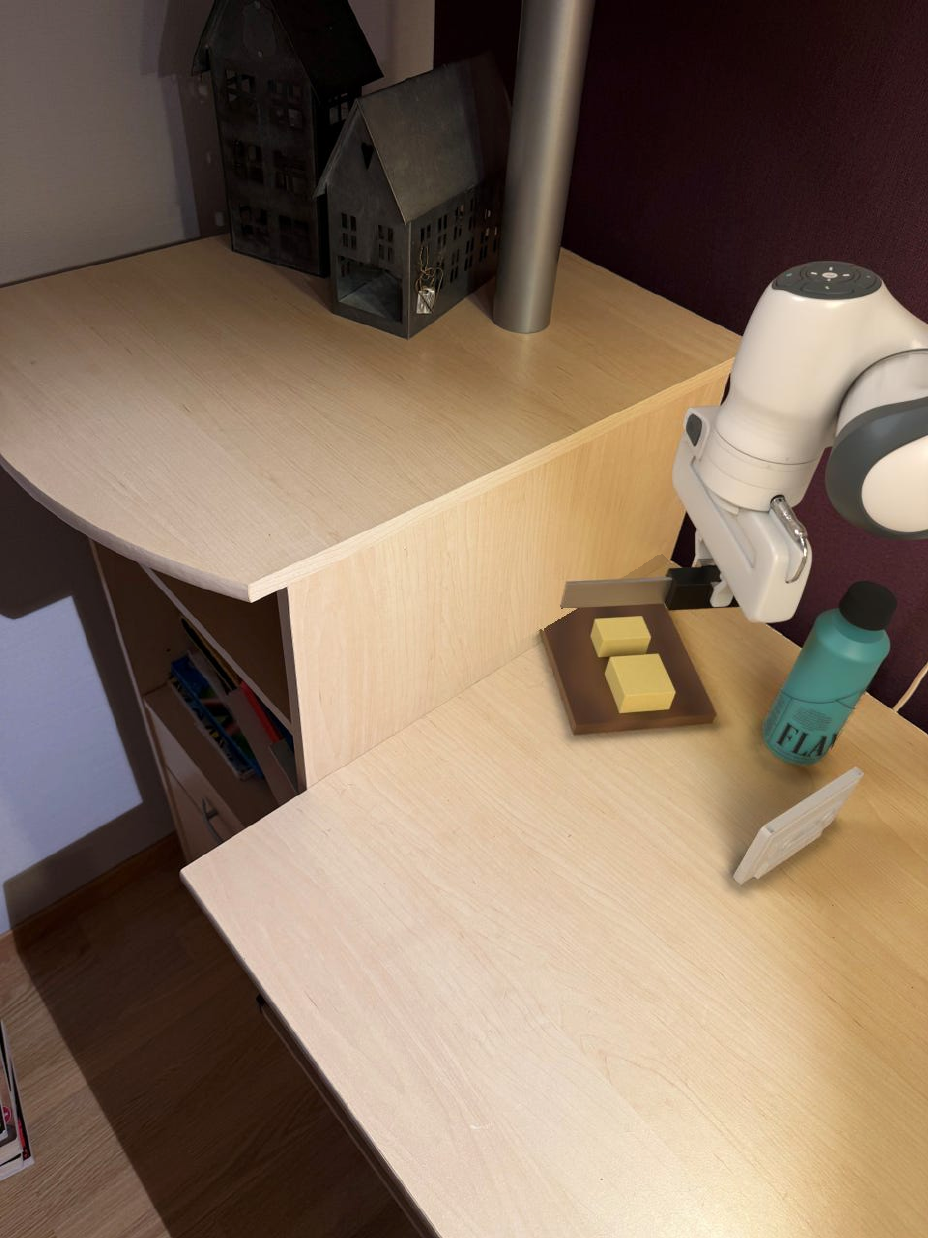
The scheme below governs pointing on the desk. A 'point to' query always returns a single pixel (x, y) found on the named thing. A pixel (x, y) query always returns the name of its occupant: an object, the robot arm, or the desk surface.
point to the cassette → (796, 827)
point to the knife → (647, 590)
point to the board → (586, 671)
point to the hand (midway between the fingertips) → (709, 587)
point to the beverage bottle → (830, 675)
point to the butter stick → (639, 683)
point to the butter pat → (620, 636)
